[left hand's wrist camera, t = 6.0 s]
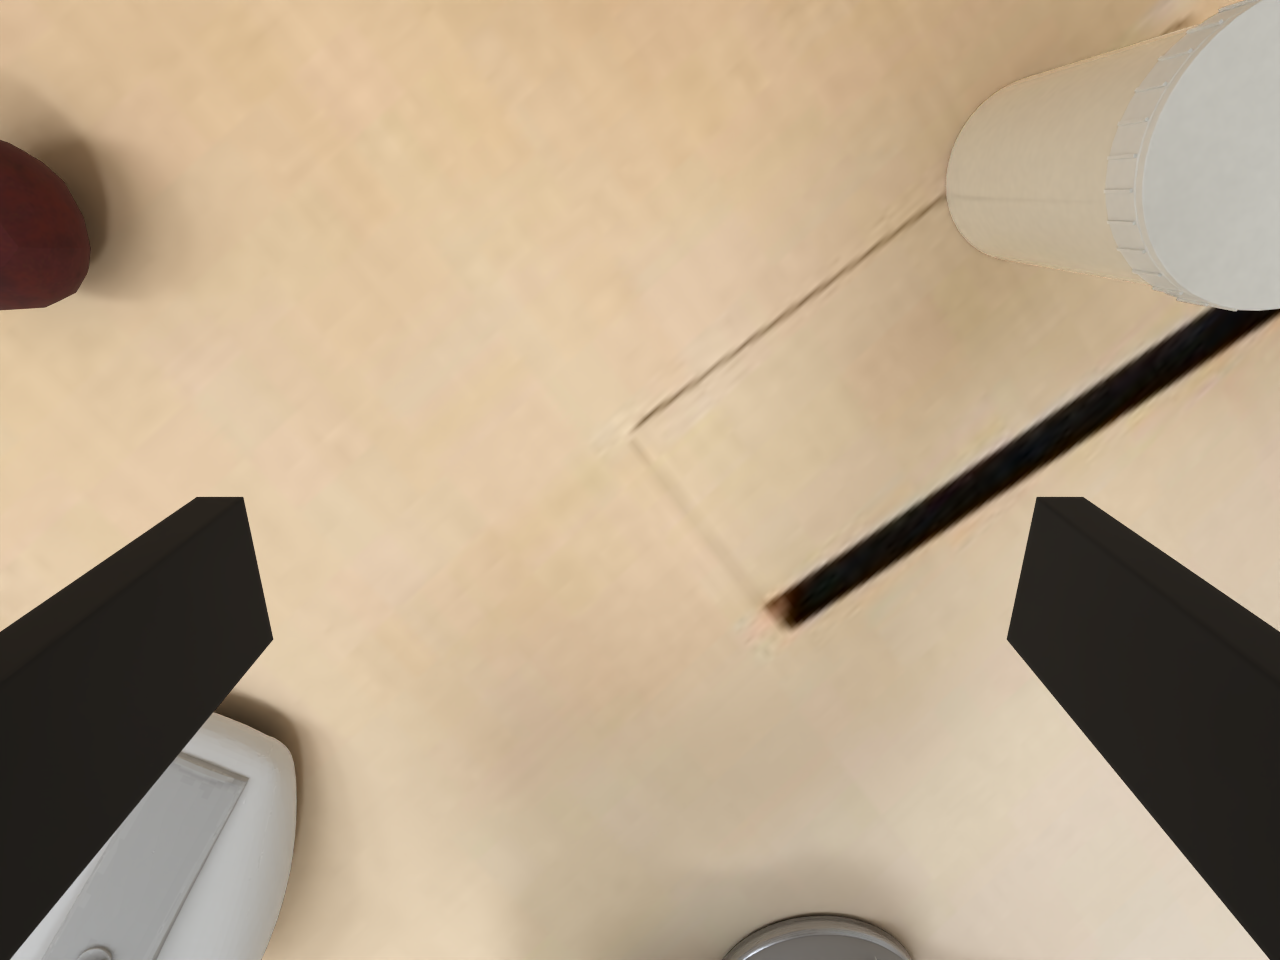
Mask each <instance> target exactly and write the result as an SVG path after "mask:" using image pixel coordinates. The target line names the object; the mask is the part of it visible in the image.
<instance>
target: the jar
mask: <svg viewBox="0 0 1280 960" xmlns="http://www.w3.org/2000/svg"><path fill="white" fill-rule="evenodd" d="M1200 24H1201V23H1200ZM1198 25H1199V24H1197V25H1194V26H1191V27H1187V28H1184V29H1181V30H1178V31H1175V32H1171V33H1168V34H1165V35H1162V36H1158V37H1155V38H1152V39H1149V40H1145V41H1142V42H1139V43H1136V44H1133V45H1129V46H1126V47H1123V48H1120V49H1116V50H1113V51H1110V52H1107V53H1103V54H1100V55H1097V56H1094V57H1091V58H1087V59H1084V60H1081V61H1078V62H1074V63H1071V64H1068V65H1065V66H1061V67H1058V68H1055V69H1052V70H1049V71H1045V72H1042V73H1039V74H1036V75H1032V76H1029V77H1026V78H1023V79H1020V80H1018V81H1015V82H1013V83H1011V84H1009V85H1007V86H1005V87H1003V88H1002V89H1000V90H998V91H997V92H996V93H994V94H993V95H991V96H990V97H989V98H988V99H987V100H986V101H984V102H983V103H982V104H981V105H980V106H979V107H978V108H977V109H976V111H975V112H974V113H973V114H972V115H971V116H970V118H969V119H968V121H967V122H966V123H965V125H964V126H963V128H962V130H961V132H960V133H959V135H958V137H957V139H956V141H955V144H954V146H953V149H952V151H951V155H950V158H949V162H948V167H947V173H946V197H947V203H948V207H949V211H950V214H951V217H952V219H953V221H954V223H955V225H956V227H957V229H958V230H959V232H960V233H961V234H962V236H963V237H964V238H965V239H966V240H967V241H968V242H969V243H970V244H971V245H972V246H973V247H975V248H976V249H977V250H979V251H980V252H982V253H984V254H986V255H988V256H990V257H993V258H996V259H1000V260H1006V261H1011V262H1017V263H1023V264H1029V265H1034V266H1040V267H1046V268H1052V269H1057V270H1063V271H1069V272H1075V273H1080V274H1086V275H1092V276H1098V277H1104V278H1109V279H1115V280H1121V281H1127V282H1132V283H1138V284H1144V285H1150V284H1149V283H1147V282H1146V281H1145V280H1143V279H1142V278H1141V277H1140V276H1139V275H1138V274H1134V273H1132V270H1133V269H1132V268H1131V267H1130V266H1129V264H1128V263H1127V261H1126V260H1125V258H1124V257H1123V255H1122V254H1121V252H1120V251H1117V249H1116V248H1118V246H1117V244H1116V242H1115V240H1114V238H1113V235H1112V231H1111V228H1110V225H1109V224H1107V221H1108V216H1107V209H1106V200H1105V193H1104V190H1105V182H1106V173H1107V164H1108V160H1107V156H1109V155H1110V151H1111V147H1112V143H1113V140H1114V137H1115V134H1116V131H1117V129H1118V125H1117V124H1118V122H1119V121H1121V119H1122V117H1123V115H1124V113H1125V110H1126V108H1127V106H1128V104H1129V102H1130V101H1131V99H1132V97H1133V96H1134V94H1135V92H1134V90H1135V89H1136V88H1137V87H1139V86H1140V84H1141V83H1142V81H1143V80H1144V79H1145V78H1146V76H1147V75H1148V73H1149V72H1150V71H1151V70H1152V68H1153V67H1154V66H1155V64H1156V63H1157V62H1158V60H1157V59H1158V58H1159V57H1160V56H1163V55H1165V54H1166V53H1167V52H1168V51H1169V49H1170V48H1171V47H1172V46H1173V45H1175V44H1176V43H1177V42H1178V41H1179V40H1180V39H1182V38H1183V37H1184V36H1185V35H1186V34H1187V33H1186V31H1187V30H1188V29H1191V28H1194V27H1197V26H1198ZM1150 286H1151V285H1150Z"/></svg>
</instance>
